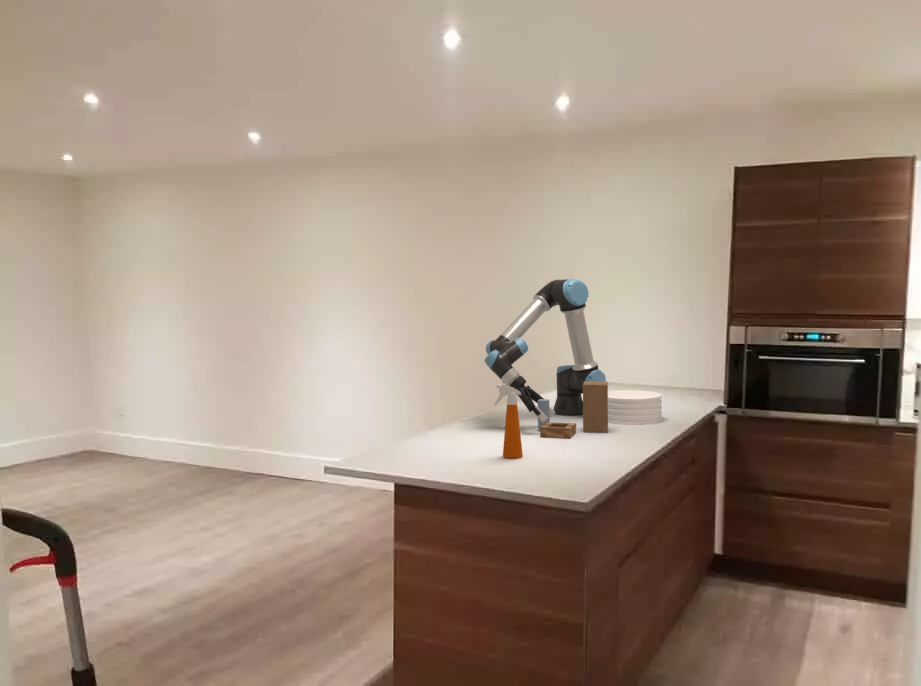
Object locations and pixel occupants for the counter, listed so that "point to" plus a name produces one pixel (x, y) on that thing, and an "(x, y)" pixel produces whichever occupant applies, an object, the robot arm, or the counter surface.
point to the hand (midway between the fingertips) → (549, 417)
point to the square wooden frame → (558, 430)
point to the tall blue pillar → (544, 407)
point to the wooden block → (595, 406)
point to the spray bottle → (511, 423)
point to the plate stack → (634, 407)
